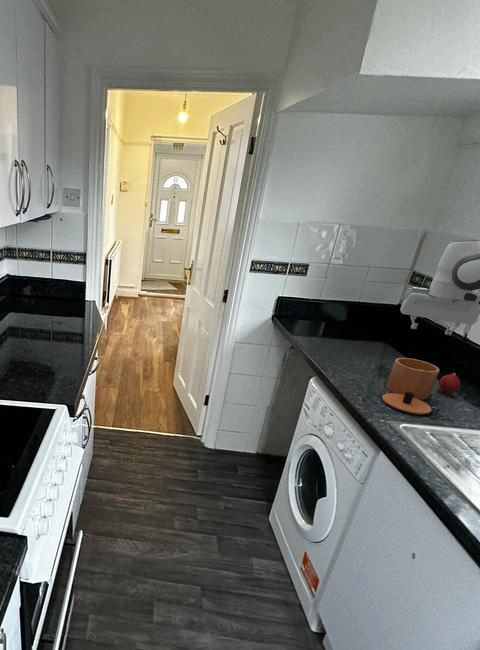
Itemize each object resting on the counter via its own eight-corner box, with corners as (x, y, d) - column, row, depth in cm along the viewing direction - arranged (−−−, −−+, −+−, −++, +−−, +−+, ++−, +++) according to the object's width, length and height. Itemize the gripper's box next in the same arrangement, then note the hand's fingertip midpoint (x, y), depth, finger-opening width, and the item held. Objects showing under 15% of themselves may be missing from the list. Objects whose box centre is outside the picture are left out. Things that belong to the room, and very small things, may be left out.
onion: (437, 387, 153) (447, 368, 149) (456, 394, 149) (466, 374, 146) (433, 391, 149) (442, 371, 146) (452, 398, 145) (462, 378, 142)
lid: (428, 403, 140) (433, 391, 138) (432, 420, 129) (438, 407, 128) (381, 392, 147) (385, 380, 145) (381, 407, 136) (386, 394, 134)
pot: (426, 390, 151) (437, 363, 146) (429, 403, 141) (441, 375, 136) (385, 380, 156) (395, 355, 152) (386, 392, 147) (396, 365, 142)
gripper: (408, 287, 136) (394, 327, 142) (488, 298, 127) (469, 340, 132) (407, 284, 141) (393, 323, 147) (484, 294, 132) (466, 335, 137)
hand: (430, 331), depth 139 cm, fingers open, 8 cm apart
